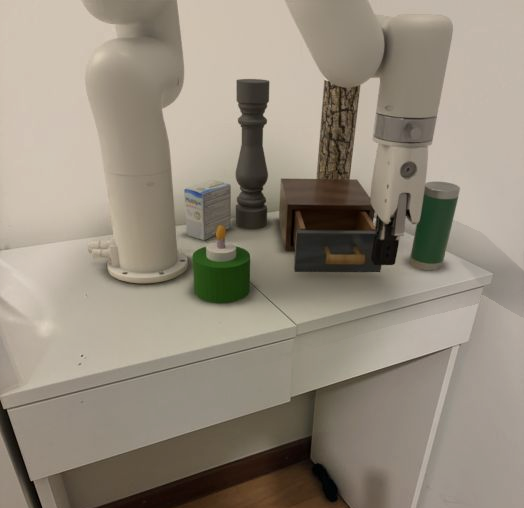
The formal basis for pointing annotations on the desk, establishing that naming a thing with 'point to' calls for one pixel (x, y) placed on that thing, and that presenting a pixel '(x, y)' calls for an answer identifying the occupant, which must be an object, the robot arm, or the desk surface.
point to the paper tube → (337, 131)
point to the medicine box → (207, 208)
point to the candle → (221, 271)
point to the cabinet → (319, 200)
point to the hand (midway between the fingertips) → (382, 262)
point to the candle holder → (252, 153)
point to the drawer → (333, 241)
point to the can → (434, 225)
